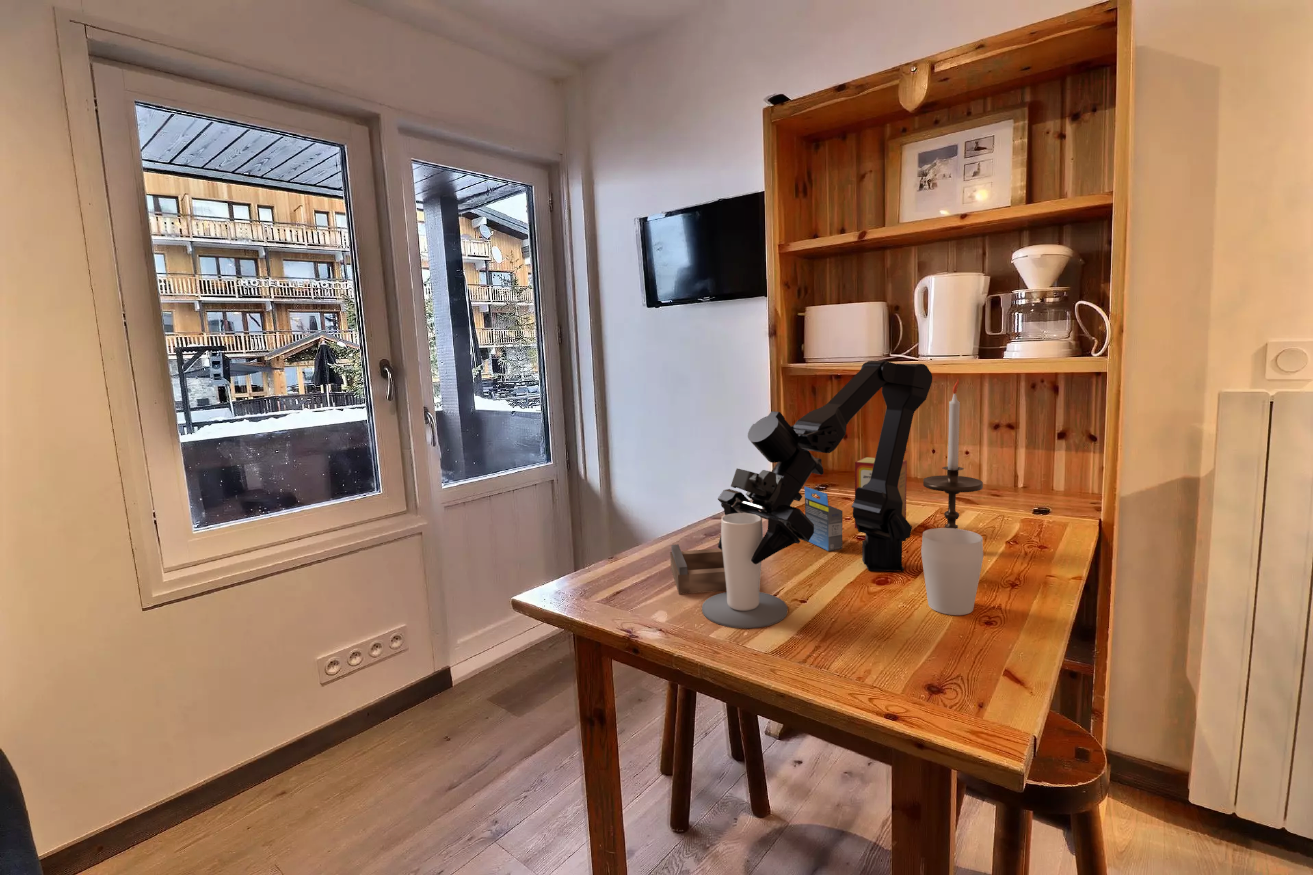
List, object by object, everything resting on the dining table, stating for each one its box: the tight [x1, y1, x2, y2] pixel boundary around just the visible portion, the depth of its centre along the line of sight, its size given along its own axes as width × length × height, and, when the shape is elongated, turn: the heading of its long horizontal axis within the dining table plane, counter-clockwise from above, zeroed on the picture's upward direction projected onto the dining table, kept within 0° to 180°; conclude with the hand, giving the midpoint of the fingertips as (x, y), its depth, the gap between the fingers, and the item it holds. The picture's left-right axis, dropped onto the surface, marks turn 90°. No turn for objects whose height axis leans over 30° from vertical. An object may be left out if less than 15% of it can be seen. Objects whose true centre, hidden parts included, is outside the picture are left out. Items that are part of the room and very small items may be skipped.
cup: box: [920, 527, 984, 616], centre depth 103 cm, size 9×9×12 cm
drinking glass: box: [720, 513, 764, 611], centre depth 106 cm, size 7×7×15 cm
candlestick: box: [922, 378, 984, 529], centre depth 129 cm, size 11×11×35 cm
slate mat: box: [701, 591, 789, 629], centre depth 107 cm, size 14×14×1 cm
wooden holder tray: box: [669, 544, 727, 595], centre depth 121 cm, size 13×13×5 cm
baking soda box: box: [854, 456, 908, 529], centre depth 147 cm, size 10×6×16 cm
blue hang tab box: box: [803, 485, 843, 552], centre depth 137 cm, size 9×4×12 cm, turn 20°
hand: (736, 555), depth 104 cm, fingers open, 8 cm apart
